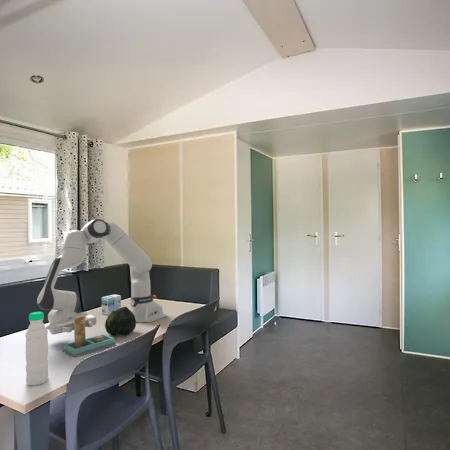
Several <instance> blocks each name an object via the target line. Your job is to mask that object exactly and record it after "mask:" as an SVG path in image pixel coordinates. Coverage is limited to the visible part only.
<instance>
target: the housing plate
mask: <svg viewBox="0 0 450 450" xmlns="http://www.w3.org/2000/svg"><path fill="white" fill-rule="evenodd" d="M85 344H86V346H84V347H80V348H77V349H75V341H73V342H72V341H71V342H69V343H65V344H63V348H62V352H63V353H64V352H65V353H64V354H66V355H68V356H69V357H71V358H77V357H80V356H84V355H87V354H91V353H94V352H98V351H100V350H103V349H107V348H110V347H114V346H117V342H116V341H115V338H114V337H111V335H110V336H109V335H108V334H104V333H103V334H100V335H94V336H93V337H88V338H85Z"/></svg>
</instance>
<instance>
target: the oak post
mask: <svg viewBox="0 0 450 450" xmlns="http://www.w3.org/2000/svg"><path fill="white" fill-rule="evenodd" d="M73 331H74V342H75V349H77V348H80V347H84V346H86V344H85V339H86V327H85V316H76V317H74V330H73Z"/></svg>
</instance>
